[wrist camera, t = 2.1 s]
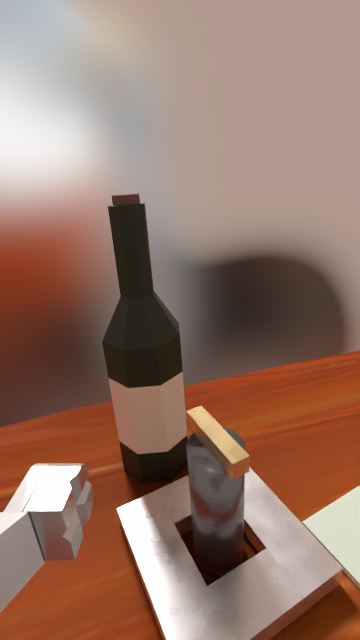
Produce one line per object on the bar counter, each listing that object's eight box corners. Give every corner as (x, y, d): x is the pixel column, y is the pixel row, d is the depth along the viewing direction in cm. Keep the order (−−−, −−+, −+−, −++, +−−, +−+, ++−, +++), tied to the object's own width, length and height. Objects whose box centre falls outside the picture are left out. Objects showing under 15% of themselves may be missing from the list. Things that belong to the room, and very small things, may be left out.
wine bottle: (141, 427, 45) (109, 195, 34) (199, 438, 43) (185, 189, 31) (109, 474, 38) (56, 199, 27) (177, 491, 35) (148, 194, 24)
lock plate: (119, 522, 33) (117, 508, 32) (236, 465, 38) (236, 452, 37) (186, 705, 21) (184, 689, 20) (340, 583, 26) (343, 568, 26)
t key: (180, 532, 31) (169, 417, 26) (219, 510, 33) (216, 399, 28) (217, 600, 26) (212, 473, 21) (261, 571, 28) (267, 447, 23)
